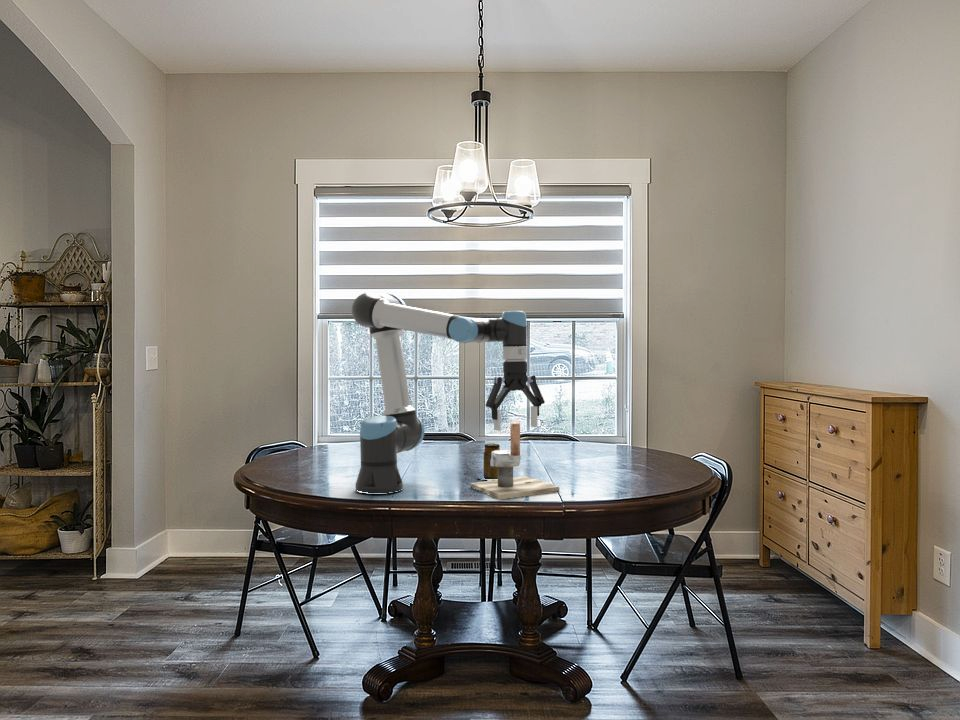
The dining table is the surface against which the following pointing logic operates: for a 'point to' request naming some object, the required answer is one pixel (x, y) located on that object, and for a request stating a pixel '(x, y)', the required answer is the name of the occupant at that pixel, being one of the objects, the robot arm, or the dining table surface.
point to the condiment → (489, 470)
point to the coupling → (508, 456)
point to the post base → (513, 485)
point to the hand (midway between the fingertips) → (516, 428)
